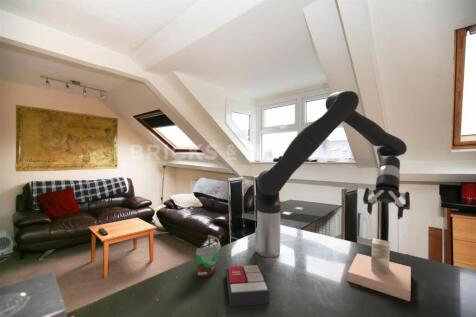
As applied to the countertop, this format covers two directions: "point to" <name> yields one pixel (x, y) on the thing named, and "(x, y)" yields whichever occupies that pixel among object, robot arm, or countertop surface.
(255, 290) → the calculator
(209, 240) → the food container
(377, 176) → the robot arm
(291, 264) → the countertop surface
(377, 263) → the ash block
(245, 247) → the countertop surface
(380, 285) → the plinth
